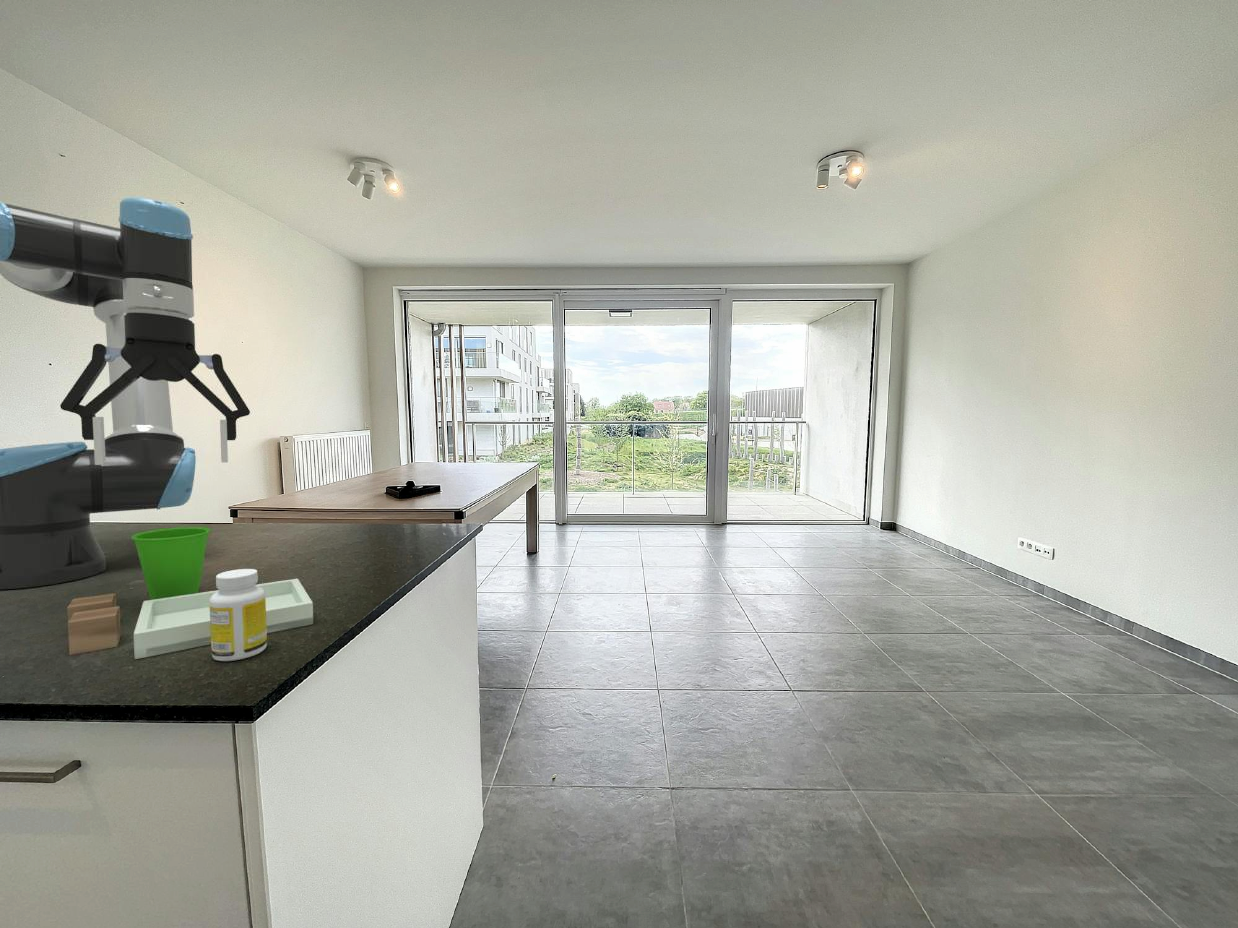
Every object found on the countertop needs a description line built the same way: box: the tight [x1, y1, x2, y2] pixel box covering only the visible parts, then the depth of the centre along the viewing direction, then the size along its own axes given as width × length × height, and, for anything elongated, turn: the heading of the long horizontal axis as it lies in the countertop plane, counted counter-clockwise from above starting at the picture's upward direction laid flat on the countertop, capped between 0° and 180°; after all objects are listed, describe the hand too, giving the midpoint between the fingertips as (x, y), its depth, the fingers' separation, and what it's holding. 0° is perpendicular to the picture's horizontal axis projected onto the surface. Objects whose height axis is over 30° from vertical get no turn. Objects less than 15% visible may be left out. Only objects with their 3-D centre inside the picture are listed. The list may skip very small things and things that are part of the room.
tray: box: [133, 578, 314, 660], centre depth 70 cm, size 14×18×3 cm
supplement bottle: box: [209, 568, 268, 662], centre depth 61 cm, size 5×5×10 cm
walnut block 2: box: [67, 605, 122, 656], centre depth 62 cm, size 4×4×4 cm
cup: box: [130, 526, 212, 600], centre depth 77 cm, size 9×9×11 cm
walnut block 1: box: [66, 592, 117, 623], centre depth 67 cm, size 4×4×4 cm
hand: (166, 463), depth 75 cm, fingers open, 13 cm apart
